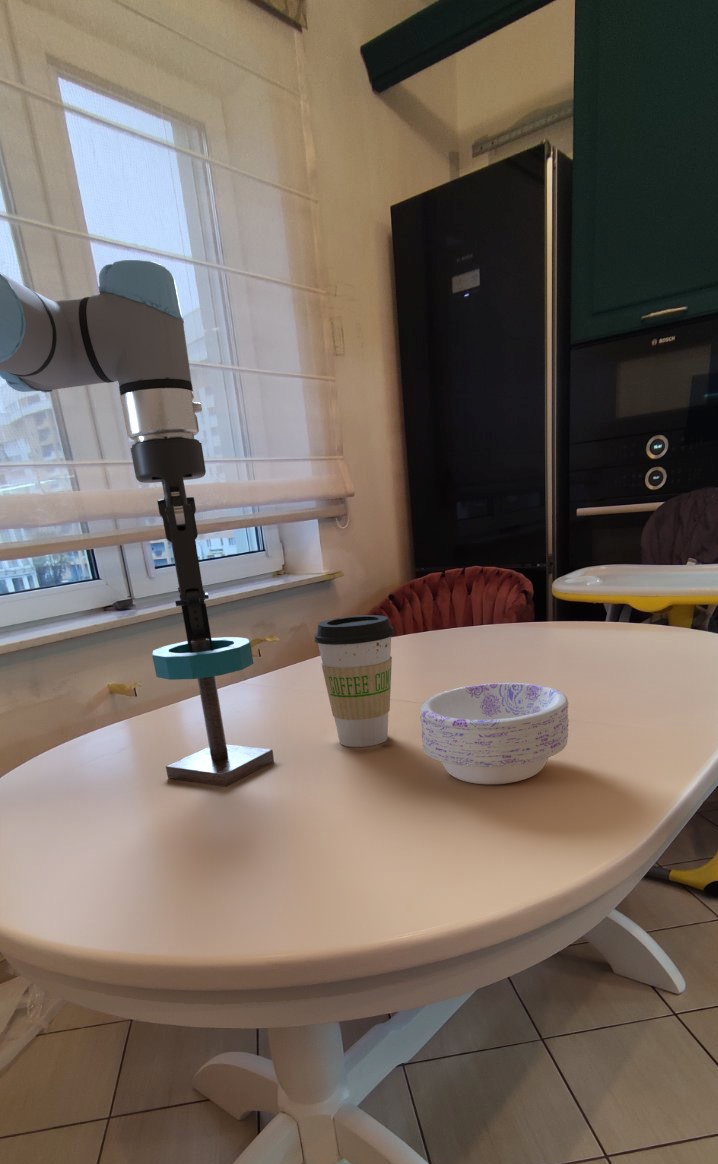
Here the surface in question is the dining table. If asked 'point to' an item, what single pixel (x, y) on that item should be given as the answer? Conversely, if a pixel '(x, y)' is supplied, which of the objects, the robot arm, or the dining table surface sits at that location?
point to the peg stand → (216, 743)
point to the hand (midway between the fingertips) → (202, 658)
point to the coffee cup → (357, 676)
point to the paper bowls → (495, 730)
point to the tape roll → (202, 659)
